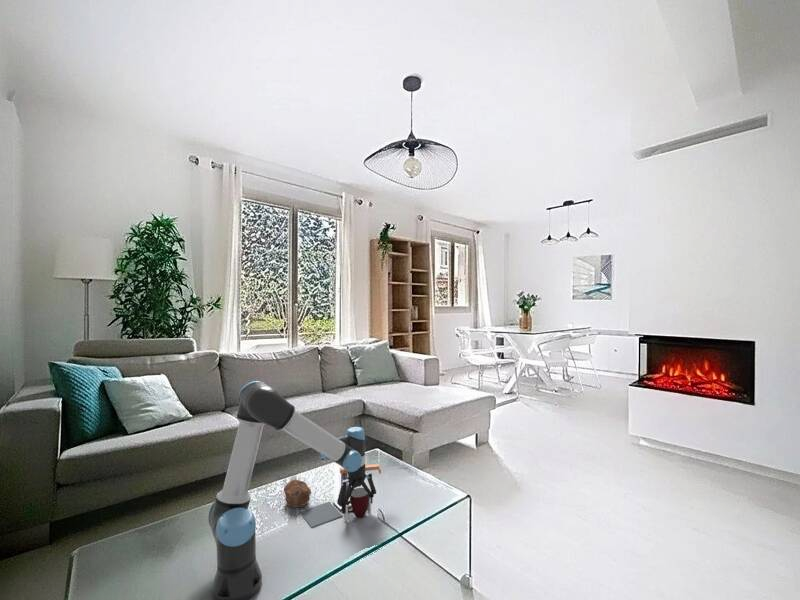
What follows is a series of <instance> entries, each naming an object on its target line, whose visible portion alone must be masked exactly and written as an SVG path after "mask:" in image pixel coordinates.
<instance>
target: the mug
mask: <svg viewBox="0 0 800 600" xmlns="http://www.w3.org/2000/svg"><path fill="white" fill-rule="evenodd" d="M368 500H369V492H368V493H367V492H366V491H365V489H364V488H363V487H356V488H354V490H353V491H352V493H351V495H350V501H348V502H347V504H346V505H347V506H348V505H349V504H351V507H352V508H351V510H349V509H348V514H351V513H352V514H354V516H355V518H358V519H361V518H364V517H365V515H366V513H367V512H368V511H367V508H368Z"/></svg>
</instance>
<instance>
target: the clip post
mask: <svg viewBox="0 0 800 600" xmlns="http://www.w3.org/2000/svg"><path fill="white" fill-rule="evenodd" d="M347 479H348V473H346V474H341V473H340V481H341V480H347ZM348 484H349V483H347V486H346V490H347V488H348ZM345 493H346V491H345ZM337 501H338V499H336V500H333V501H332V505H333V506H334V507H335V508H336V509H337V510H338V511H339V512H342V507H340V506H339V505H338V504H337ZM348 501H350V497H349V500H348ZM349 509H352V507H351V504H349V505H348V510H349Z"/></svg>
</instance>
